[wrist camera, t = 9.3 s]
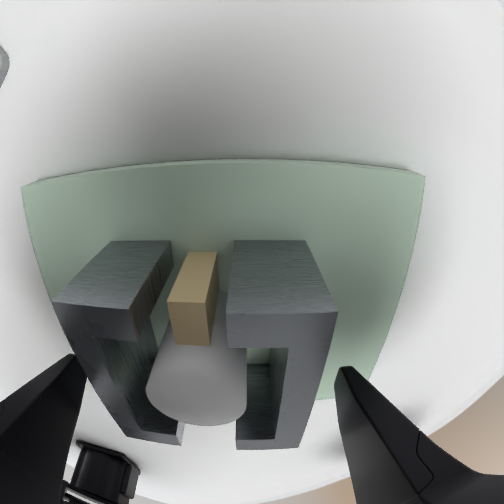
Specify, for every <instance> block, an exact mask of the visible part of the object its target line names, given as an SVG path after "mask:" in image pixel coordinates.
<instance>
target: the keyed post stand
mask: <svg viewBox="0 0 504 504" xmlns="http://www.w3.org/2000/svg"><path fill="white" fill-rule="evenodd" d="M425 177H426V176H423V175H421V174H418V173H415V172H412V171H409V170H402V169H395V168H387V167H379V166H370V165H361V164H350V163H339V162H325V161H308V160H283V159H219V160H194V161H177V162H163V163H152V164H141V165H132V166H123V167H115V168H108V169H100V170H94V171H87V172H81V173H75V174H69V175H64V176H59V177H53V178H48V179H44V180H39V181H36V182H33V183H30V184H28V185H25V186H23V187H21V192H22V198H23V204H24V209H25V214H26V219H27V224H28V228H29V232H30V237H31V240H32V244H33V248H34V252H35V255H36V259H37V262H38V265H39V268H40V272H41V275H42V278H43V281H44V284H45V286H46V289H47V292H48V295H49V297H50V300H51V301H52V300H53V299H54V298H55V297H56V296H57V295H58V294H59V293H60V291H61V290H62V289H63V288H64V287H65V286H66V285H67V284H68V283H69V282H70V281H71V280H72V279H73V278H74V277H75V276H76V275H77V273H78V272H79V271H80V270H81V269H82V268H83V267H84V266H85V265H86V264H87V263H88V262H89V261H90V260H91V259H92V258H93V257H94V256H96V255H97V254H98V253H99V252H100V251H101V250H102V249H103V248H104V247H105V246H106V245H107V244H108V243H109V242H110V241H140V240H171V247H172V255H173V263H174V267H173V269H172V271H171V273H170V275H169V277H168V279H167V281H166V283H165V285H164V287H163V289H162V291H161V293H160V295H159V298H158V300H157V302H156V304H155V306H154V308H153V310H152V312H151V315H150V319H151V323H152V327H153V331H154V335H155V338H156V342H157V345H158V349H159V350H158V353H157V356H156V359H155V362H154V365H153V368H152V371H151V374H150V377H149V380H148V383H147V386H146V394H147V397H148V399H149V401H150V402H151V403H152V405H153V406H154V407H155V408H156V409H158V410H159V411H160V412H162V413H163V414H165V415H167V416H168V417H171V418H173V419H175V420H178V421H181V422H184V423H188V424H193V425H200V426H216V425H223V424H227V423H230V422H232V421H235V420H236V419H238V418H239V417H241V416H242V415H243V414H244V412H245V410H246V406H247V364H269V356H270V348H228V343H227V328H226V306H227V297H228V289H229V280H230V272H231V263H232V255H233V247H234V240H306V242H307V245H308V247H309V249H310V251H311V253H312V255H313V257H314V259H315V261H316V263H317V265H318V268H319V270H320V272H321V274H322V276H323V278H324V281H325V283H326V285H327V287H328V289H329V292H330V294H331V296H332V298H333V300H334V303H335V305H336V307H337V309H338V316H337V320H336V325H335V329H334V333H333V337H332V341H331V345H330V349H329V353H328V357H327V360H326V364H325V368H324V371H323V375H322V378H321V381H320V385H319V388H318V391H317V395H316V398H315V400H323V399H332V398H335V392H334V382H335V379H336V376H337V372H338V370H339V368H340V367H342V366H353V367H354V368H355V369H356V370H357V371H358V372H359V373H360V374H361V375H362V376H363V377H364V378H365V379H366V380H369V378H370V375H371V373H372V371H373V369H374V366H375V364H376V362H377V359H378V357H379V354H380V352H381V349H382V347H383V344H384V342H385V339H386V337H387V334H388V331H389V328H390V326H391V323H392V320H393V317H394V314H395V311H396V308H397V305H398V302H399V299H400V295H401V292H402V289H403V285H404V282H405V278H406V274H407V271H408V267H409V263H410V259H411V255H412V251H413V246H414V242H415V237H416V232H417V227H418V222H419V217H420V211H421V205H422V199H423V192H424V185H425ZM52 305H53V304H52ZM53 308H54V307H53ZM54 310H55V309H54ZM56 315H57V314H56ZM58 320H59V319H58ZM59 322H60V321H59ZM62 329H63V328H62ZM63 331H64V330H63ZM68 342H69V341H68ZM69 344H70V343H69ZM70 346H71V345H70ZM71 348H72V347H71ZM72 350H73V349H72ZM73 352H74V351H73ZM74 354H75V353H74Z"/></svg>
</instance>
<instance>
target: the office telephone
mask: <svg viewBox="0 0 504 504" xmlns="http://www.w3.org/2000/svg"><path fill="white" fill-rule="evenodd" d="M8 69H9V57H8V55H7V54H6V52H5V51H4V50H3V49H2V47H1V46H0V87H1V85H2V83H3V81H4V79H5V76H6V74H7V72H8Z"/></svg>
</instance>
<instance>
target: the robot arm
mask: <svg viewBox="0 0 504 504" xmlns="http://www.w3.org/2000/svg"><path fill="white" fill-rule="evenodd" d="M86 380H87V376H86V374H85V372H84V370H83V369H82V367H81V365H80V363H79V361H78V359H77V357H76V355H75V354H68V355H66V356H65V357H63V358H62V359H61V360H59V361H58V362H56V363H55V364H53V365H52V366H50V367H49V368H48V369H46V370H45V371H43V372H42V373H41V374H39V375H38V376H36V377H35V378H33V379H32V380H31V381H29V382H28V383H26V384H25V385H24V386H22V387H21V388H19V389H18V390H17V391H15V392H14V393H12V394H11V395H10V396H8V397H7V398H6V399H4V400H3V401H1V402H0V504H90V503H87V502H85V501H83V500H81V499H78V498H76V497H74V496H72V495H70V494H68V493H66V492H67V490H69V491H71V492H73V493H75V494H77V495H79V496H81V497H83V498H85V499H88V500H90V501H92V502H95V503H97V504H129V499H133V498H134V495H135V490H136V485H137V480H138V475H140V473H141V472H140V471H139V470H138V469H137V468H136V467H135V466H134V465H133V464H132V463H131V462H130V461H129V460H128V459H127V458H126V457H125V456H124V455H123V454H120V453H116V452H113V451H109V450H106V449H102V448H99V447H96V446H92V445H89V444H86V443H83V442H81V441H78V440H77V441H76V445H78V446H79V447H80V448H81V452H80V455H79V458H78V461H77V464H76V467H75V470H74V473H73V476H72V479H71V482H70V484H69V483H68V482H67V481H65V480H63V476H64V470H65V466H66V461H67V457H68V453H69V449H70V445H71V441H72V437H73V433H74V429H75V426H76V422H77V419H78V416H79V412H80V408H81V404H82V398H83V394H84V389H85V384H86ZM334 392H335V399H336V407H337V415H338V423H339V429H340V433H341V437H342V441H343V445H344V449H345V454H346V458H347V462H348V466H349V471H350V475H351V479H352V484H353V489H354V493H355V497H356V503H357V504H504V475H491V474H482V473H478V472H476V471H474V470H472V469H470V468H469V467H467V466H466V465H464V464H463V463H461V462H460V461H458V460H457V459H455V458H454V457H453V456H451V455H450V454H448V453H447V452H445V451H444V450H443V449H442V448H440V447H439V446H438V445H436V444H435V443H434V442H433V441H432V440H430V438H428V437H427V436H426V435H425V434H424V433H423V432H422V431H419V428H417V427H416V426H415V425H414V424H413V423H412V422H411V421H410V420H409V419H408V418H407V417H406V416H405V415H404V414H402V413H401V412H400V411H399V410H398V409H397V408H396V407H395V406H394V405H393V404H392V403H391V402H390V401H389V400H388V399H387V398H385V397H384V396H383V395H382V394H381V393H380V392H379V391H378V390H377V389H376V388H375V387H374V386H373V385H372V384H371V383H370V382H369V381H368V380H366V379H365V378H364V377H363V376H362V375H361V374H360V373H359V372H358V371H357V370H356V369H355V368H354V367H353V366H342V367H340V368H339V370H338V372H337V376H336V379H335V382H334ZM64 499H65V500H67V501H69V502H67V501H64Z"/></svg>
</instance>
